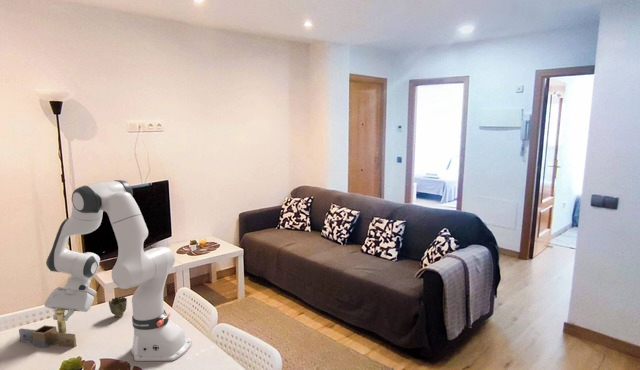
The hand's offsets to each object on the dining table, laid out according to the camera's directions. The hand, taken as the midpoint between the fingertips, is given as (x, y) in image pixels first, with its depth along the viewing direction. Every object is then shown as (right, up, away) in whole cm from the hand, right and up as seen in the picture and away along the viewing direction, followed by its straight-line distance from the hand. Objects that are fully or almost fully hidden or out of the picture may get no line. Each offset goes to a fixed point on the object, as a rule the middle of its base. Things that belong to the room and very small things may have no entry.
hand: (59, 320), depth 162 cm
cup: (+17, -4, +16) cm, 23 cm away
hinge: (-1, -7, -6) cm, 10 cm away
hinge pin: (0, -6, +2) cm, 6 cm away
